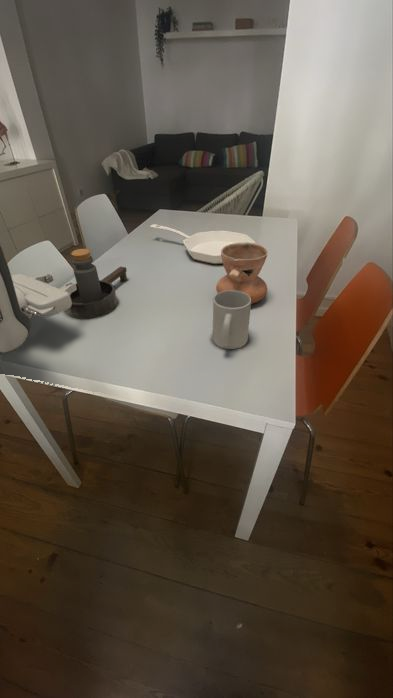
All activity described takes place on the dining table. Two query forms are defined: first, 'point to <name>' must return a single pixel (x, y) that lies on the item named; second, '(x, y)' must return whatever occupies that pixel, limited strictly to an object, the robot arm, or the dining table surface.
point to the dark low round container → (93, 303)
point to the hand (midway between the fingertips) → (62, 281)
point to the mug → (231, 319)
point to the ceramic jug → (243, 270)
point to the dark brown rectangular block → (116, 275)
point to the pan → (209, 243)
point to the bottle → (86, 276)
